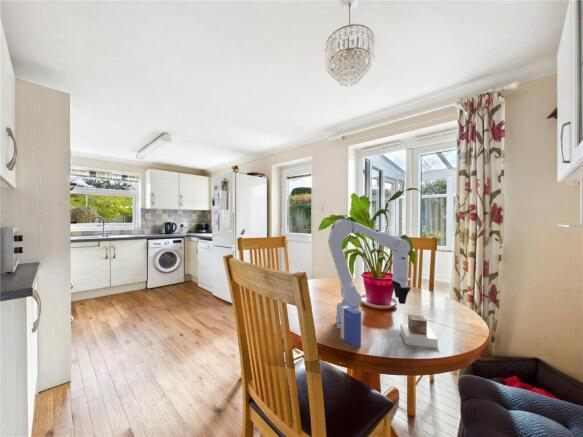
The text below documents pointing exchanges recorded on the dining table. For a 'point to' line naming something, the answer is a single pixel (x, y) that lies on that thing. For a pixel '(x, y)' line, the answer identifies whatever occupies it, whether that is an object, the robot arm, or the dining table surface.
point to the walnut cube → (417, 324)
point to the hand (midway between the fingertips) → (400, 300)
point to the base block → (418, 337)
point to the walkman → (351, 326)
